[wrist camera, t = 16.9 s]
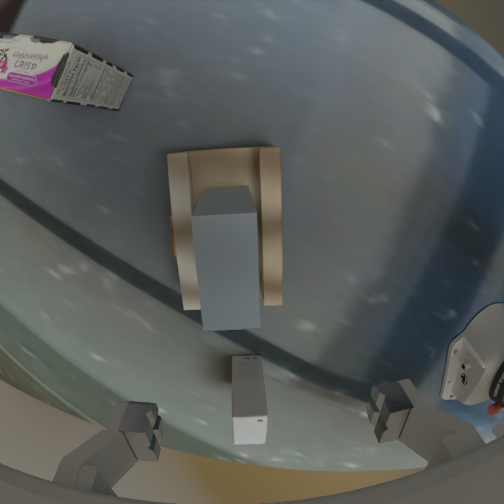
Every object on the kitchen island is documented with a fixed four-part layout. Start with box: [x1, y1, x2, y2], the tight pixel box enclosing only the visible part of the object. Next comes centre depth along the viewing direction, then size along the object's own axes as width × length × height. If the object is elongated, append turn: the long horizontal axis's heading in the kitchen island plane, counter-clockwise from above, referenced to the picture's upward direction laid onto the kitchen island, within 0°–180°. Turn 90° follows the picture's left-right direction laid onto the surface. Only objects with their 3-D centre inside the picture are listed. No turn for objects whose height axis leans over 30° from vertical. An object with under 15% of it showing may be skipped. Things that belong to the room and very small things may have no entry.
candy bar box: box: [0, 32, 134, 111], centre depth 23 cm, size 11×5×16 cm, turn 66°
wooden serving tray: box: [167, 146, 282, 310], centre depth 35 cm, size 17×11×6 cm, turn 2°
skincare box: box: [232, 355, 268, 444], centre depth 40 cm, size 6×4×12 cm
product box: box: [191, 186, 261, 331], centre depth 29 cm, size 4×9×13 cm, turn 2°
